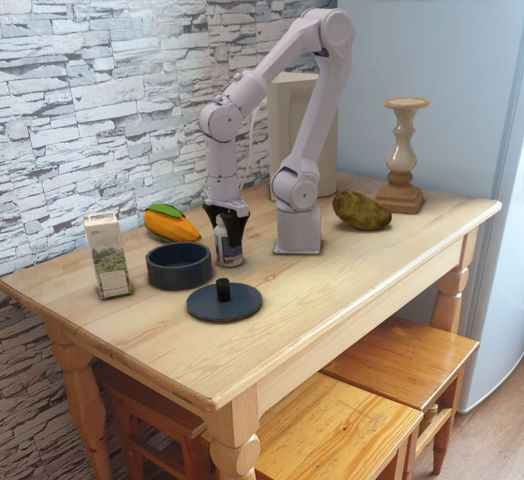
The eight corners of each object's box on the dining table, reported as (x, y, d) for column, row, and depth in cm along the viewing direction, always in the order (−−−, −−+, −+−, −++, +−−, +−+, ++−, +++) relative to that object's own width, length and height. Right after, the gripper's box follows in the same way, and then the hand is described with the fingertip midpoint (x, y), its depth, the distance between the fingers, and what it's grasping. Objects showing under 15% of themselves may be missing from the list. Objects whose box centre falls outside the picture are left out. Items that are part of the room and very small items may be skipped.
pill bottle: (248, 259, 116) (245, 213, 111) (233, 269, 112) (229, 222, 107) (227, 254, 118) (223, 209, 113) (211, 264, 115) (207, 218, 109)
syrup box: (127, 281, 110) (113, 209, 102) (132, 294, 105) (118, 219, 97) (98, 287, 108) (81, 214, 100) (101, 300, 103) (84, 225, 96)
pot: (218, 263, 115) (216, 242, 112) (204, 291, 105) (202, 268, 102) (159, 262, 117) (156, 241, 114) (140, 289, 107) (136, 267, 104)
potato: (380, 237, 122) (383, 201, 118) (327, 228, 128) (327, 193, 124) (394, 225, 128) (397, 190, 124) (342, 216, 134) (343, 183, 130)
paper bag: (246, 195, 151) (239, 80, 135) (279, 180, 160) (276, 71, 145) (306, 207, 141) (306, 84, 125) (337, 190, 150) (340, 75, 135)
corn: (159, 193, 130) (211, 212, 118) (165, 223, 135) (216, 246, 122) (131, 203, 127) (182, 224, 114) (139, 234, 131) (189, 258, 118)
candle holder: (370, 210, 137) (376, 104, 124) (380, 196, 145) (387, 95, 132) (415, 214, 133) (427, 106, 120) (423, 199, 141) (435, 96, 128)
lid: (266, 288, 105) (265, 265, 102) (256, 325, 94) (254, 300, 91) (196, 286, 107) (194, 263, 104) (178, 322, 96) (174, 298, 93)
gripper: (186, 169, 109) (194, 235, 116) (222, 186, 99) (228, 258, 106) (218, 162, 112) (224, 227, 119) (256, 178, 102) (260, 249, 109)
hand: (228, 241), depth 113 cm, fingers closed on pill bottle, 5 cm apart
